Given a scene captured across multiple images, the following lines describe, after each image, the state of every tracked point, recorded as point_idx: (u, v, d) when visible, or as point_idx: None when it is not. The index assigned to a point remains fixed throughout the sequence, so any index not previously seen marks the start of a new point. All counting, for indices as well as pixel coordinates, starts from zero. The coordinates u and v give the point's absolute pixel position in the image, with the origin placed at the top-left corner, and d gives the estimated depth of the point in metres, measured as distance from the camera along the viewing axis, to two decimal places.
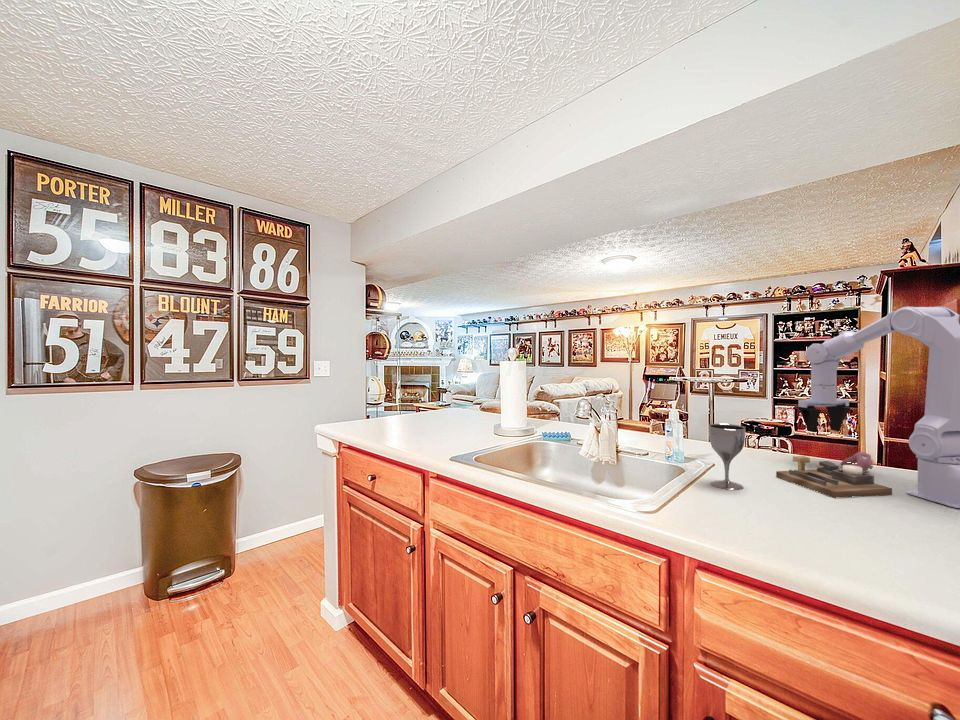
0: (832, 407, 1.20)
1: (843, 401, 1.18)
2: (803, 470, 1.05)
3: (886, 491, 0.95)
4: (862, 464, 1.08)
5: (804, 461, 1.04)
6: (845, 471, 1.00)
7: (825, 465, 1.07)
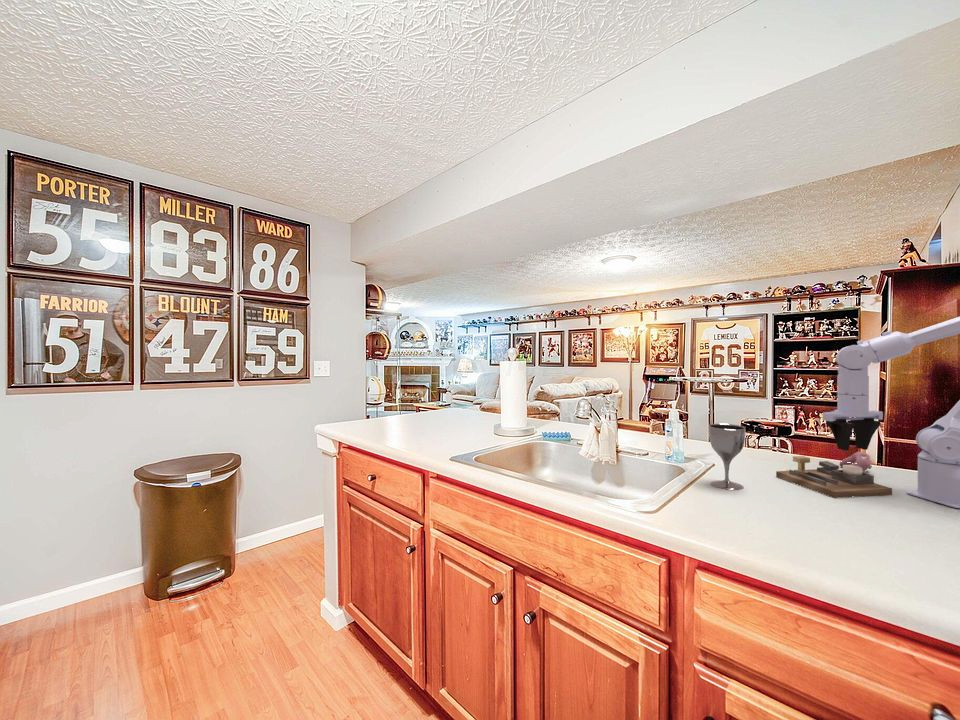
0: (858, 421, 1.01)
1: (876, 413, 0.99)
2: (803, 470, 1.05)
3: (886, 491, 0.95)
4: (860, 464, 1.08)
5: (804, 461, 1.04)
6: (845, 471, 1.00)
7: (825, 465, 1.07)
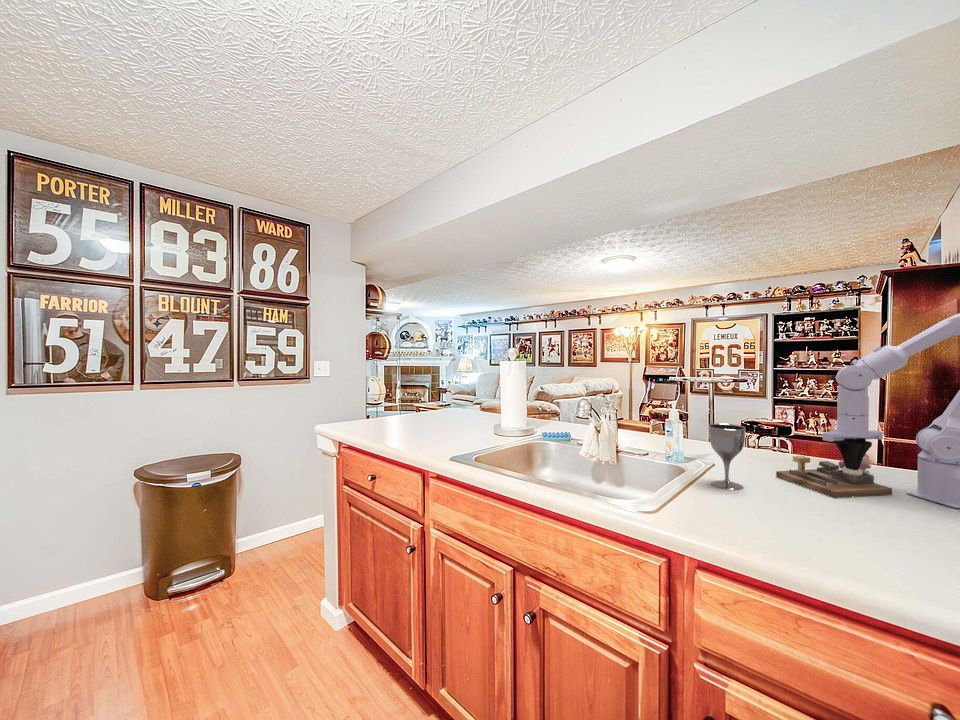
0: None
1: (876, 433, 0.99)
2: (803, 470, 1.05)
3: (886, 491, 0.95)
4: None
5: (804, 461, 1.04)
6: (845, 473, 1.00)
7: (825, 465, 1.07)
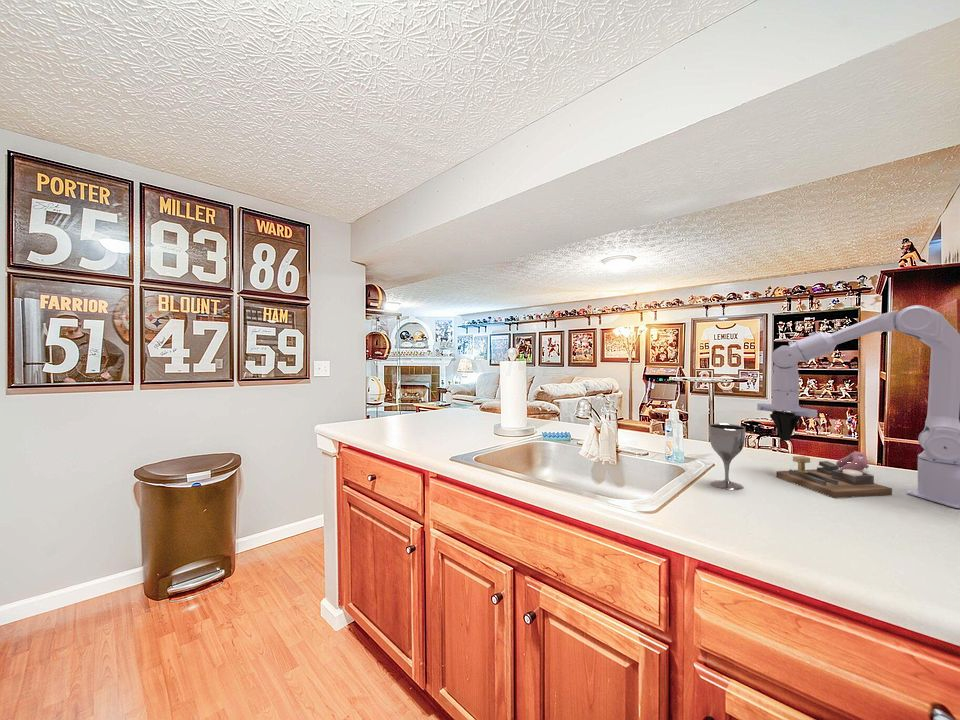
0: None
1: (801, 410, 1.05)
2: (803, 470, 1.05)
3: (886, 491, 0.95)
4: (857, 464, 1.08)
5: (804, 461, 1.04)
6: None
7: (825, 465, 1.07)
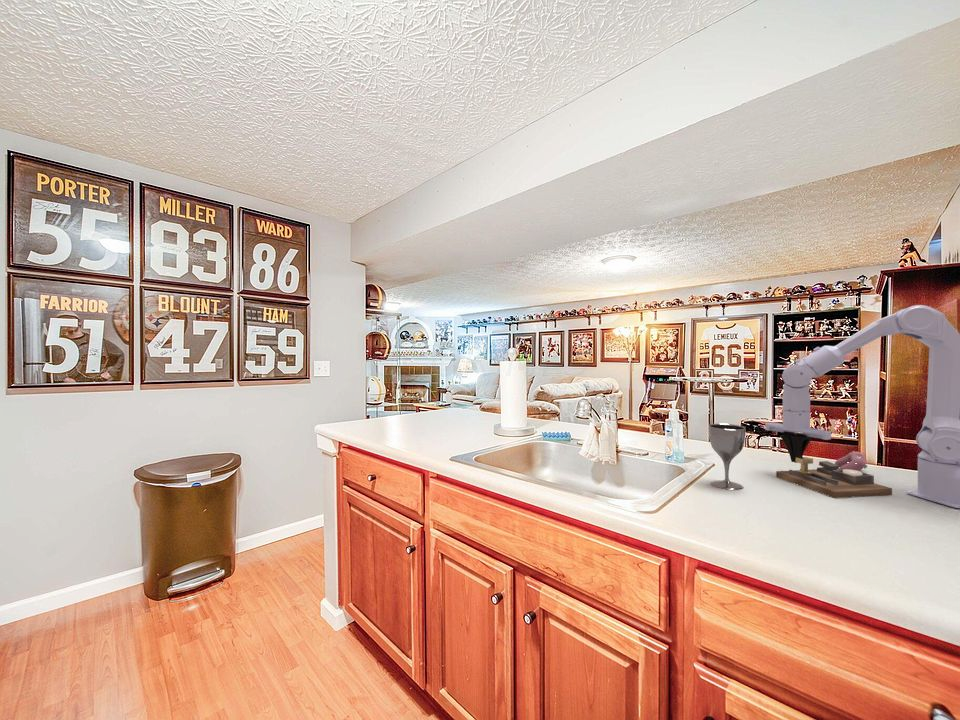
0: None
1: (815, 432, 1.02)
2: (806, 471, 1.04)
3: (886, 491, 0.95)
4: (856, 464, 1.08)
5: (807, 462, 1.04)
6: None
7: (825, 465, 1.07)
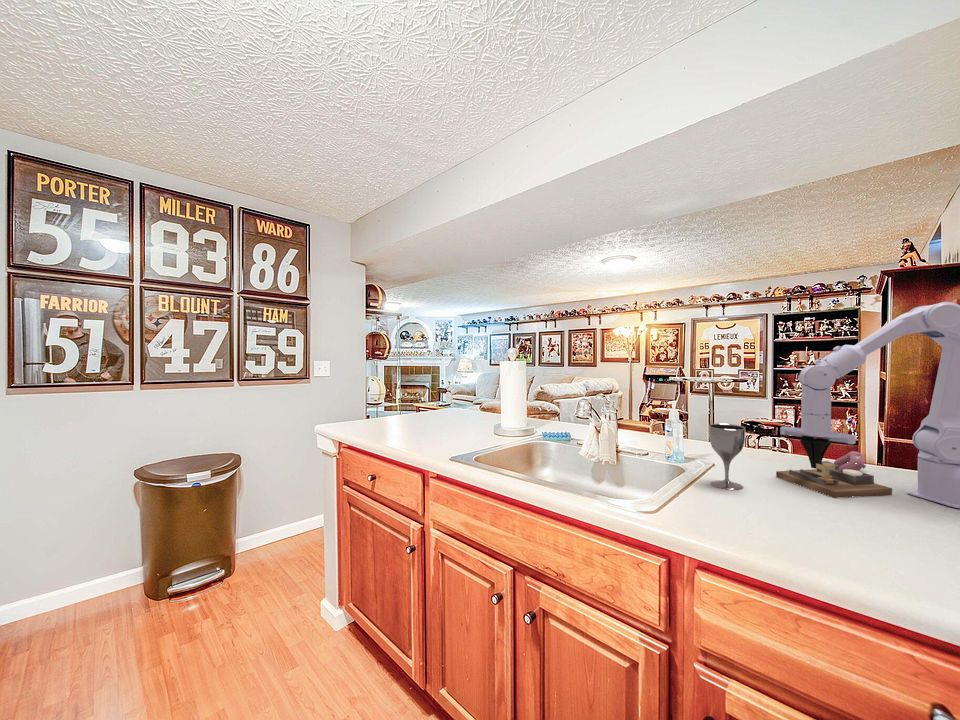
0: None
1: (840, 436, 0.96)
2: (827, 478, 0.98)
3: (886, 491, 0.95)
4: (855, 464, 1.08)
5: (829, 468, 0.98)
6: None
7: None
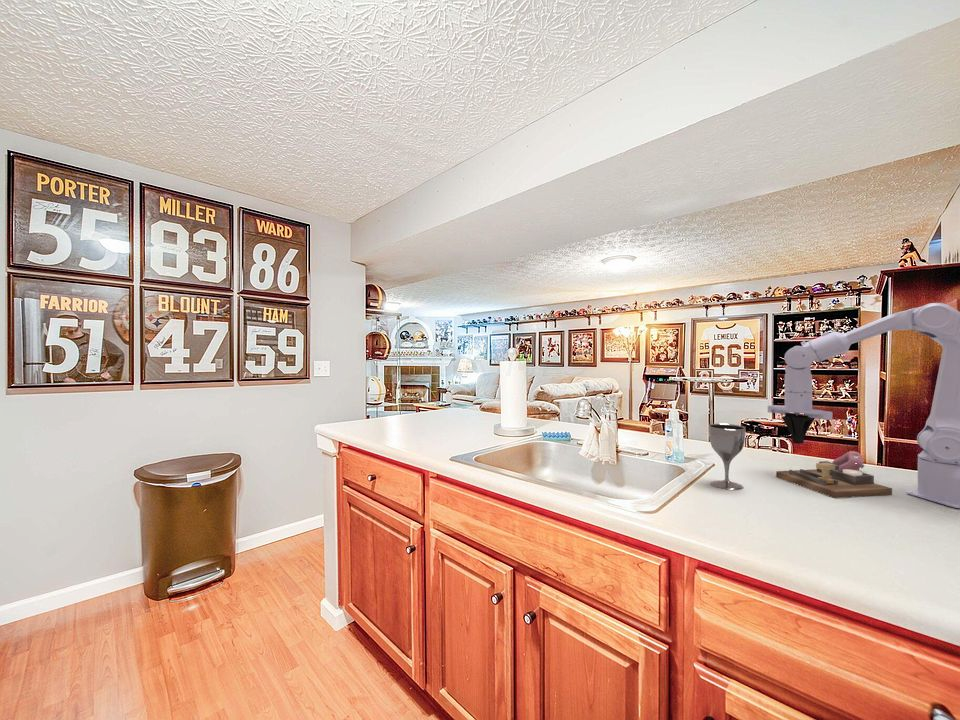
0: None
1: (816, 412, 1.02)
2: (827, 478, 0.98)
3: (886, 491, 0.95)
4: (853, 464, 1.09)
5: (829, 468, 0.98)
6: None
7: None
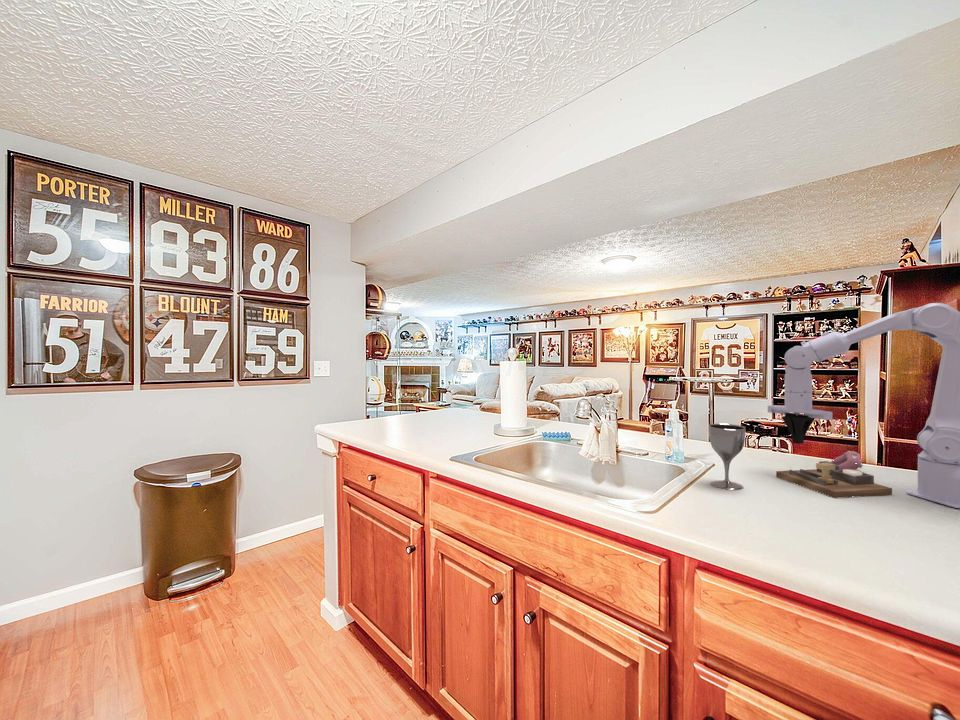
0: None
1: (816, 412, 1.02)
2: (827, 478, 0.98)
3: (886, 491, 0.95)
4: (851, 463, 1.09)
5: (829, 468, 0.98)
6: None
7: None
